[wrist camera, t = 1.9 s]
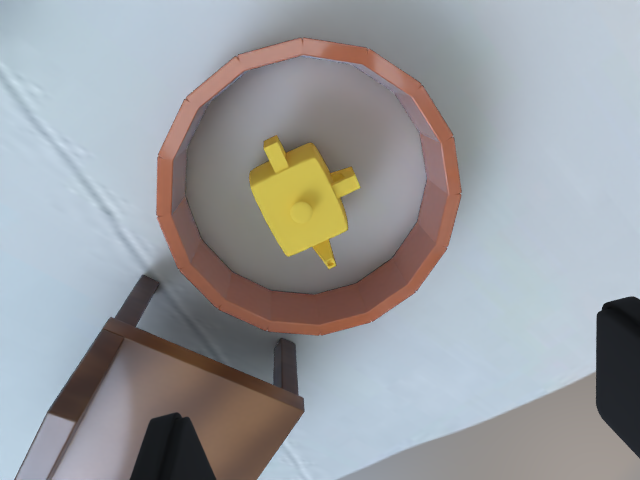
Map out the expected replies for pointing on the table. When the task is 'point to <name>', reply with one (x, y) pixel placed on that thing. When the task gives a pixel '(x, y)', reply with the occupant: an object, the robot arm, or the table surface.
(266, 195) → the teapot
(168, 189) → the ring
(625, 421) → the robot arm
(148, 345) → the miniature wooden seat
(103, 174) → the table surface
